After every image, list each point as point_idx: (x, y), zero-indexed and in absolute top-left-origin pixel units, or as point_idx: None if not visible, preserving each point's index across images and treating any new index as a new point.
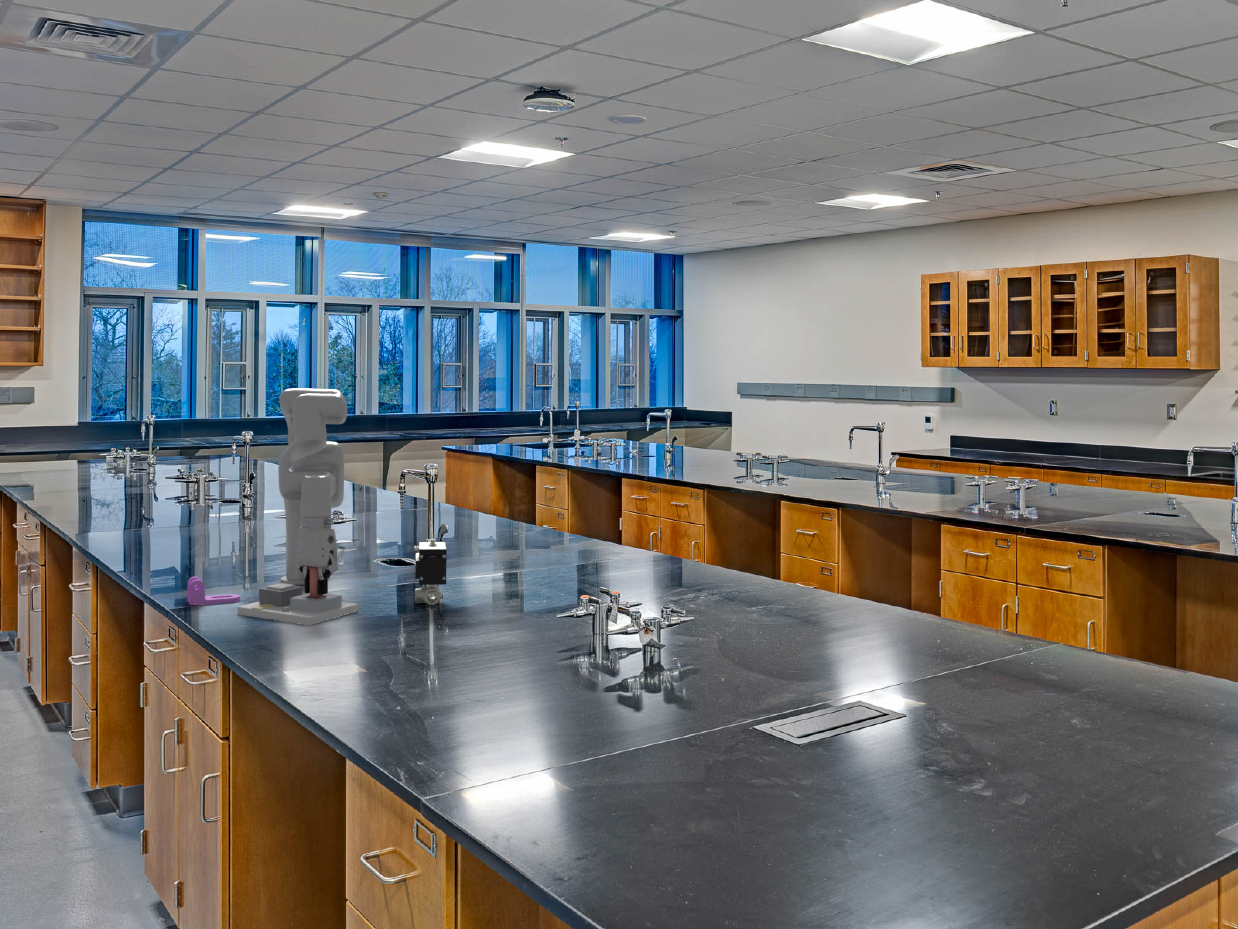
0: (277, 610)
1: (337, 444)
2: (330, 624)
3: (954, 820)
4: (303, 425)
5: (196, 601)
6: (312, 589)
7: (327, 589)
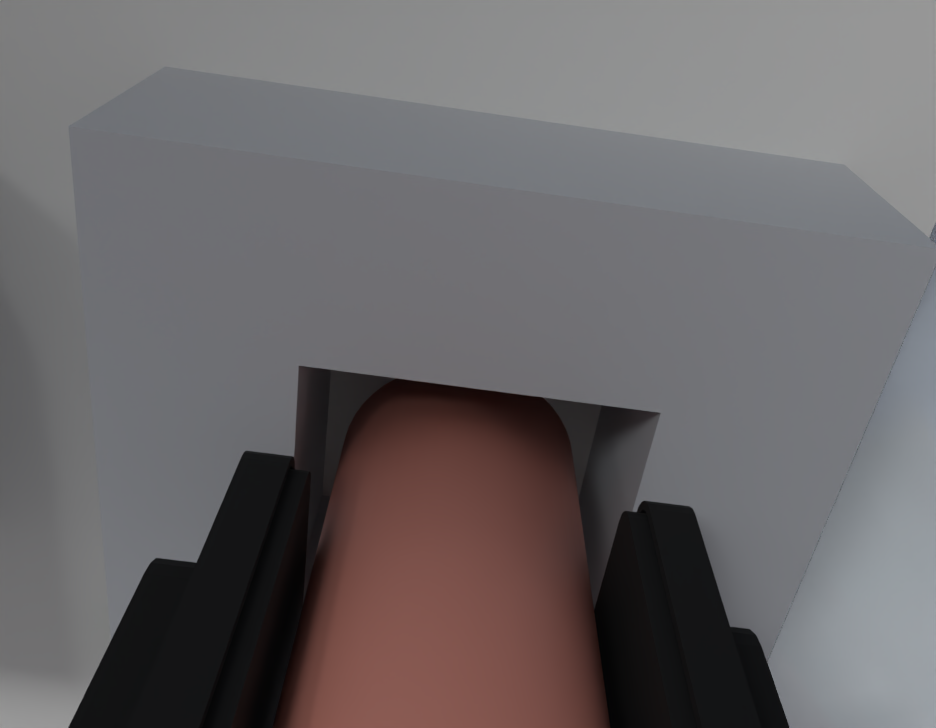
0: (85, 674)
1: None
2: (876, 623)
3: None
4: None
5: None
6: None
7: (754, 645)
